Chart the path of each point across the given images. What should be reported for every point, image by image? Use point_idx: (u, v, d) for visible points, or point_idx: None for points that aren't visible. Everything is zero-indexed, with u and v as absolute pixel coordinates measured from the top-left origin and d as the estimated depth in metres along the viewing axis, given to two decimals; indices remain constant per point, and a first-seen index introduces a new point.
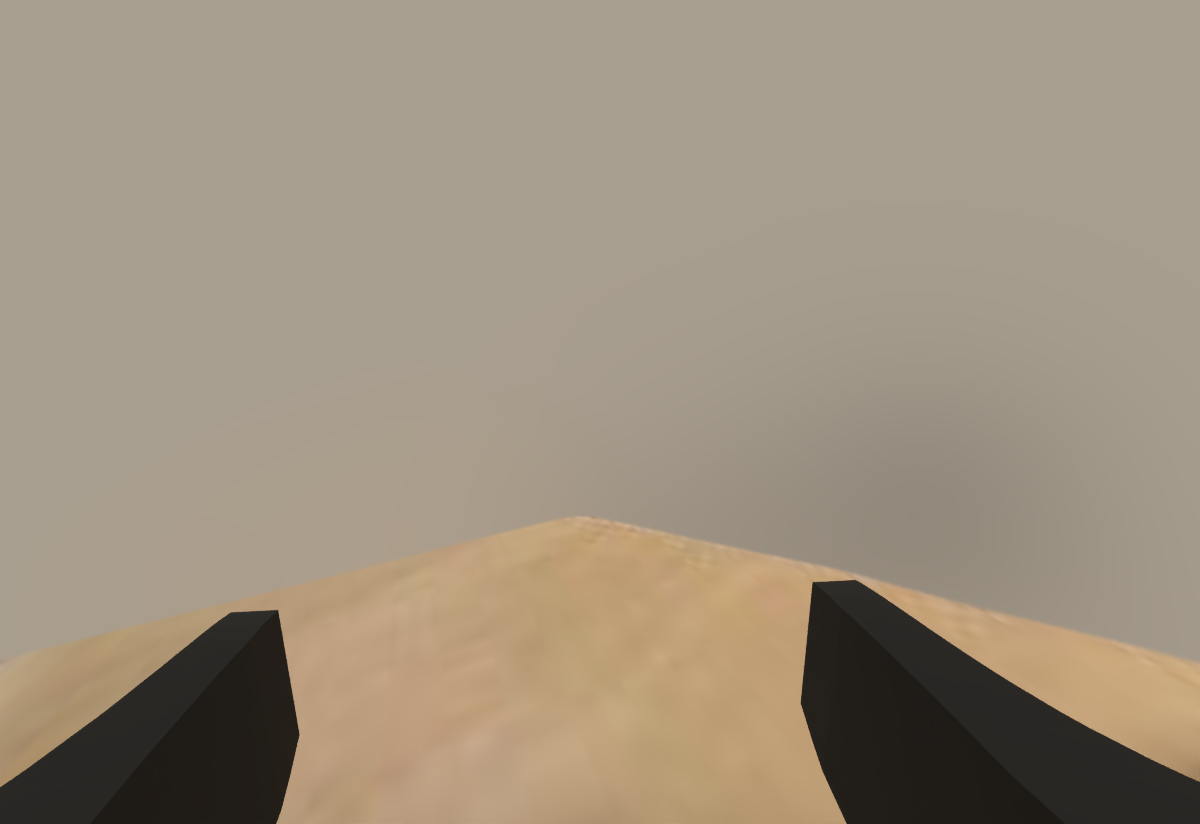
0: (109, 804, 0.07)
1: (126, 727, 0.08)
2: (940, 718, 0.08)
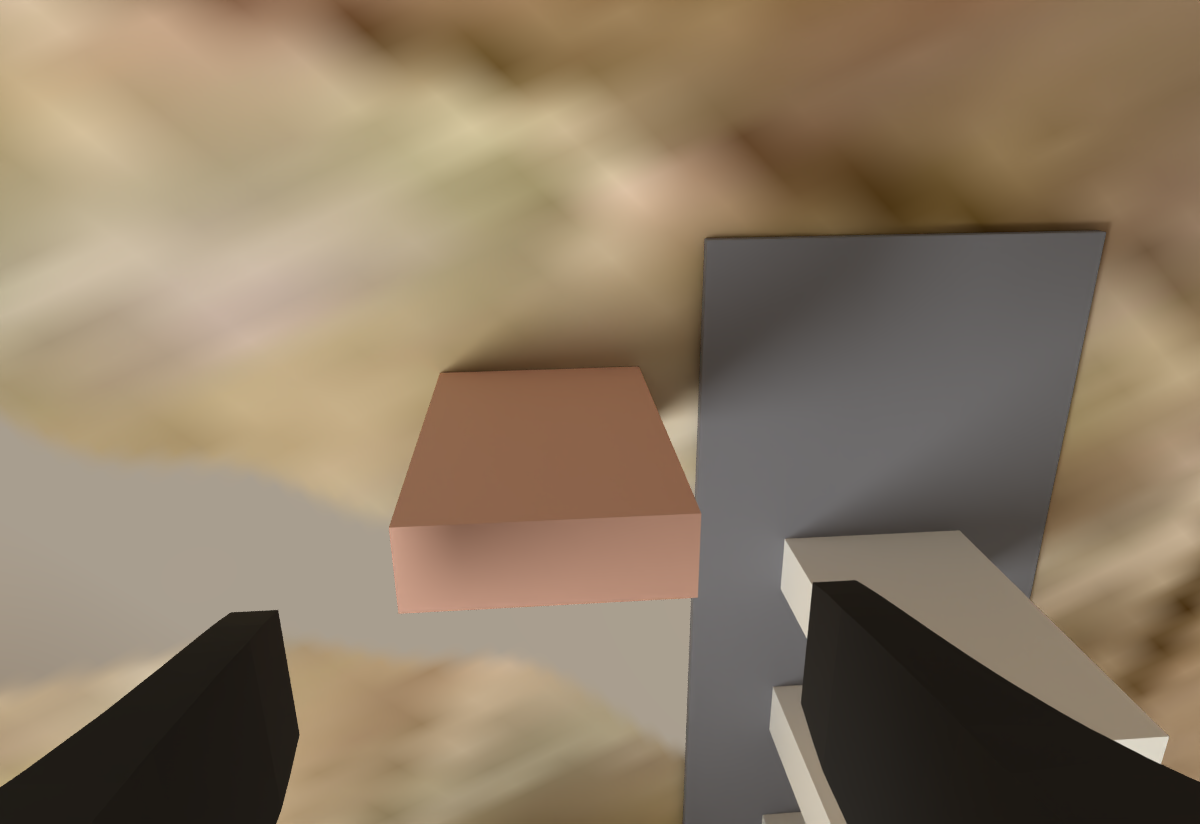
0: (108, 805, 0.07)
1: (126, 727, 0.08)
2: (940, 718, 0.08)
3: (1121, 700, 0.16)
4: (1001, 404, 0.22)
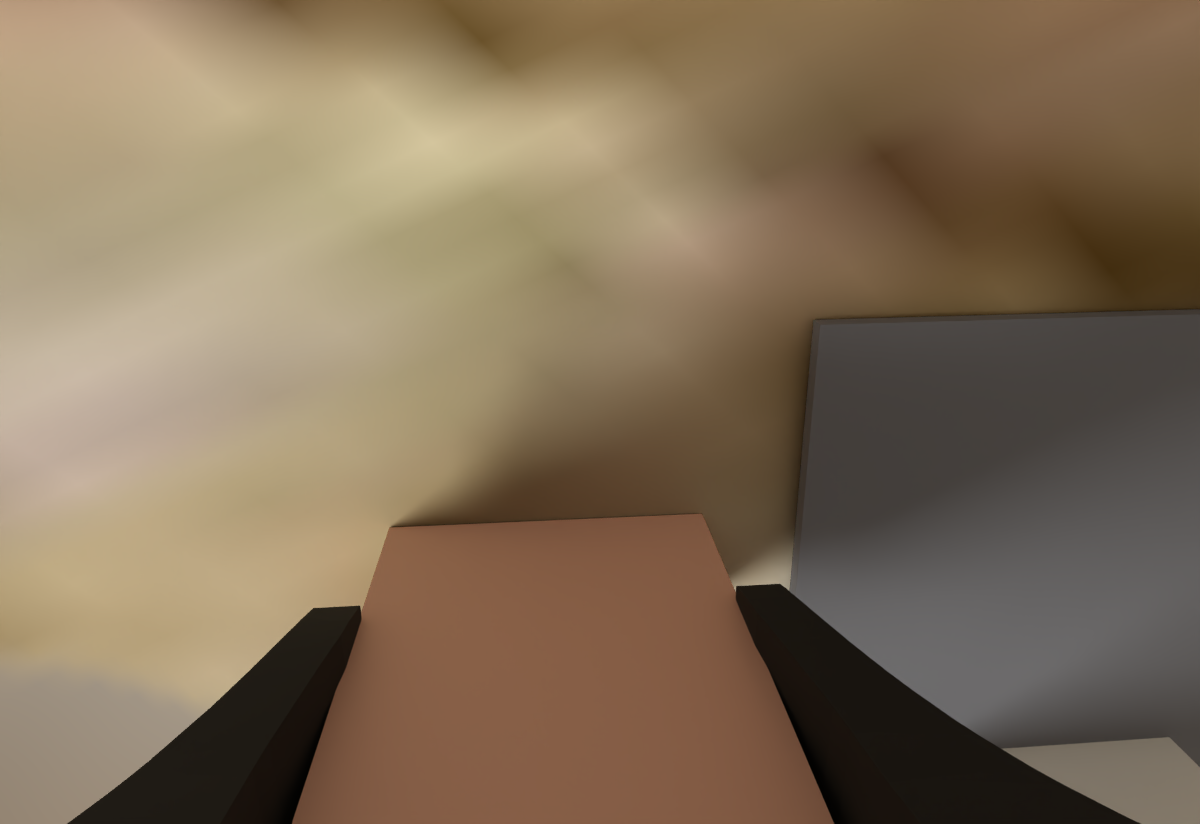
0: (238, 797, 0.07)
1: (238, 720, 0.08)
2: (835, 726, 0.08)
3: None
4: None
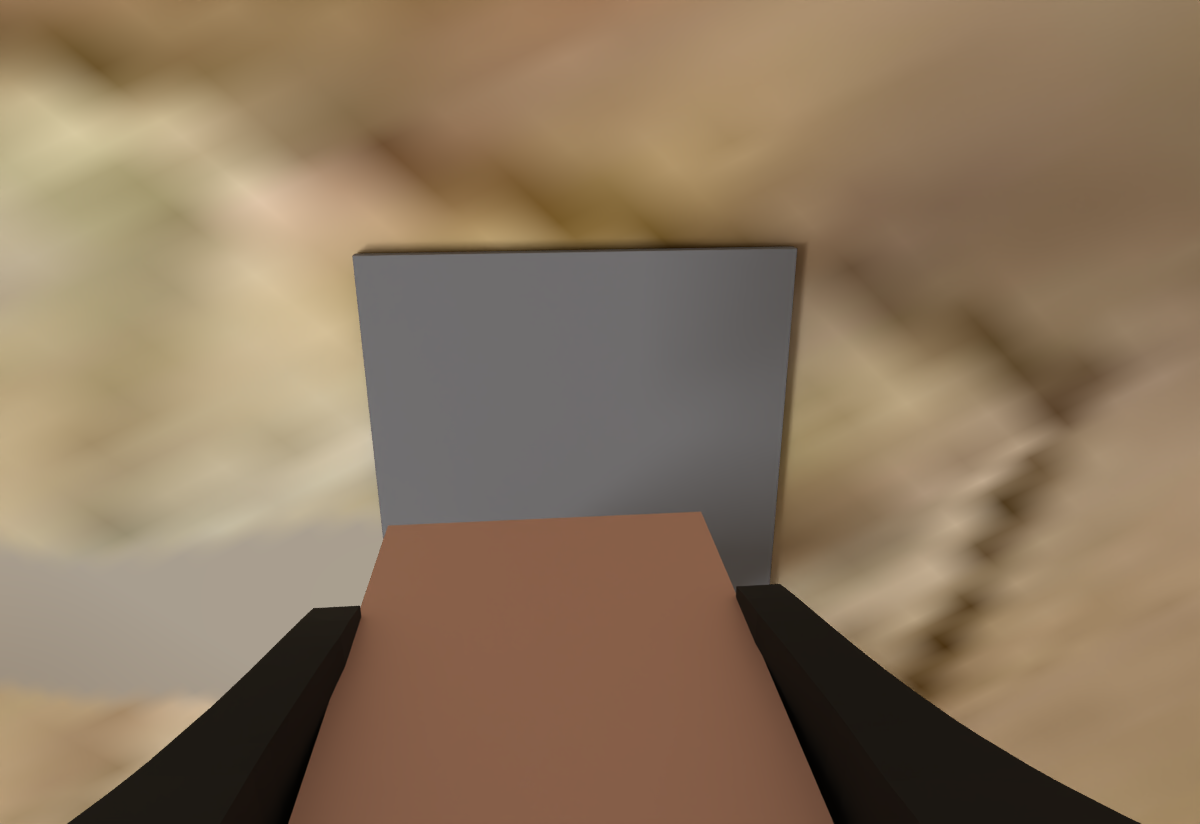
0: (237, 797, 0.07)
1: (237, 720, 0.08)
2: (836, 725, 0.08)
3: None
4: (705, 431, 0.20)
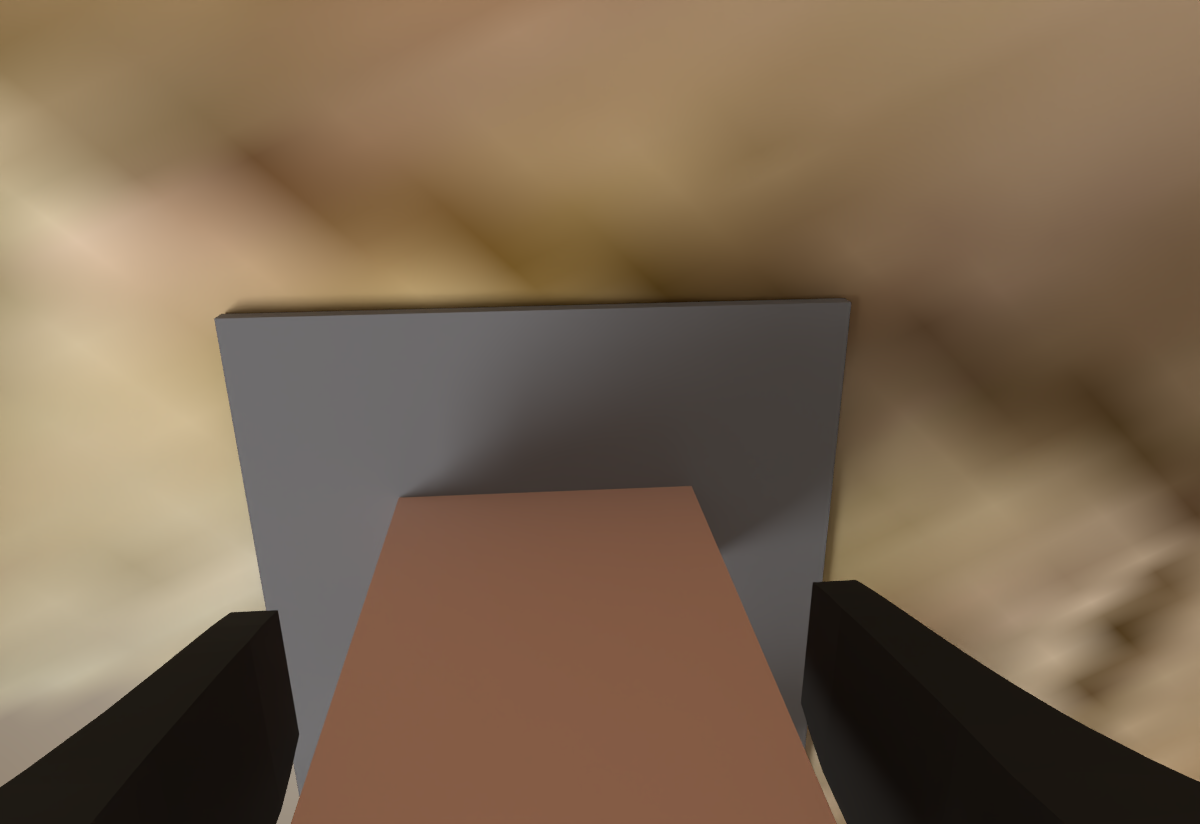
0: (108, 805, 0.07)
1: (126, 727, 0.08)
2: (940, 719, 0.08)
3: None
4: (721, 549, 0.15)
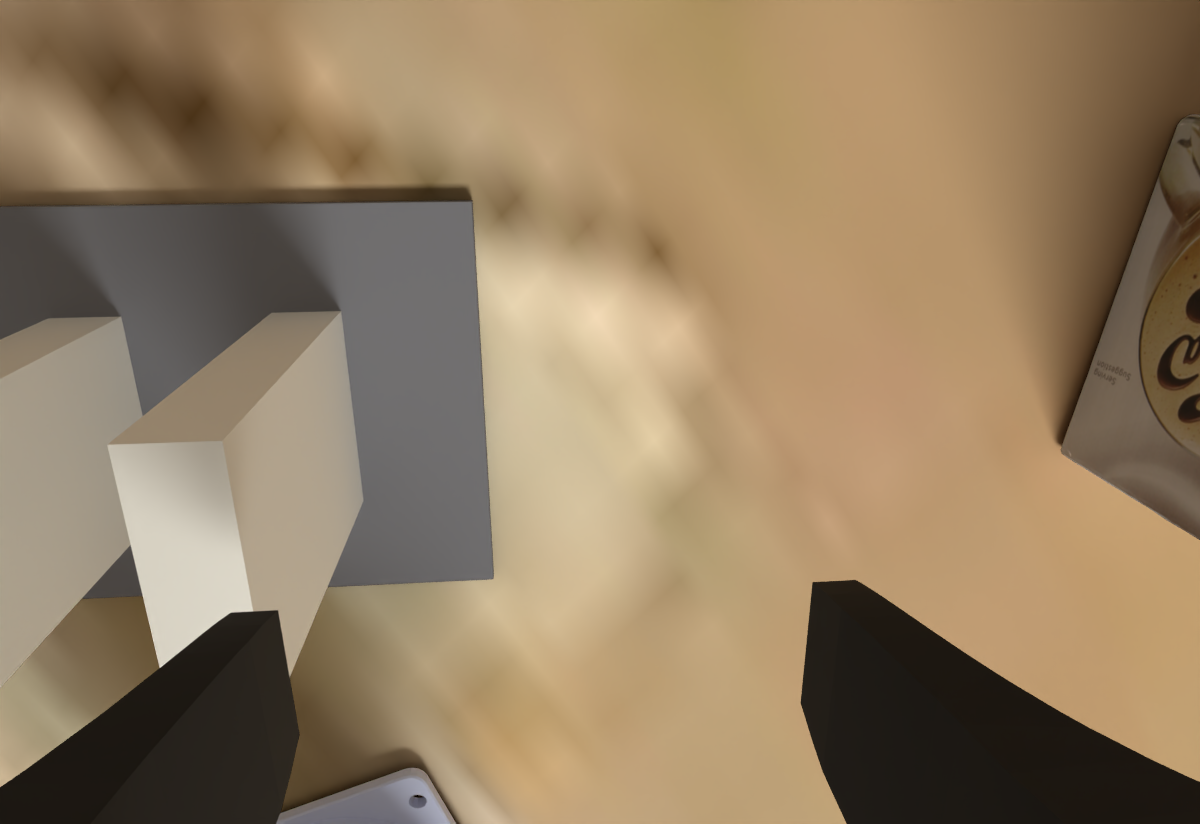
0: (108, 805, 0.07)
1: (126, 727, 0.08)
2: (941, 718, 0.08)
3: None
4: None
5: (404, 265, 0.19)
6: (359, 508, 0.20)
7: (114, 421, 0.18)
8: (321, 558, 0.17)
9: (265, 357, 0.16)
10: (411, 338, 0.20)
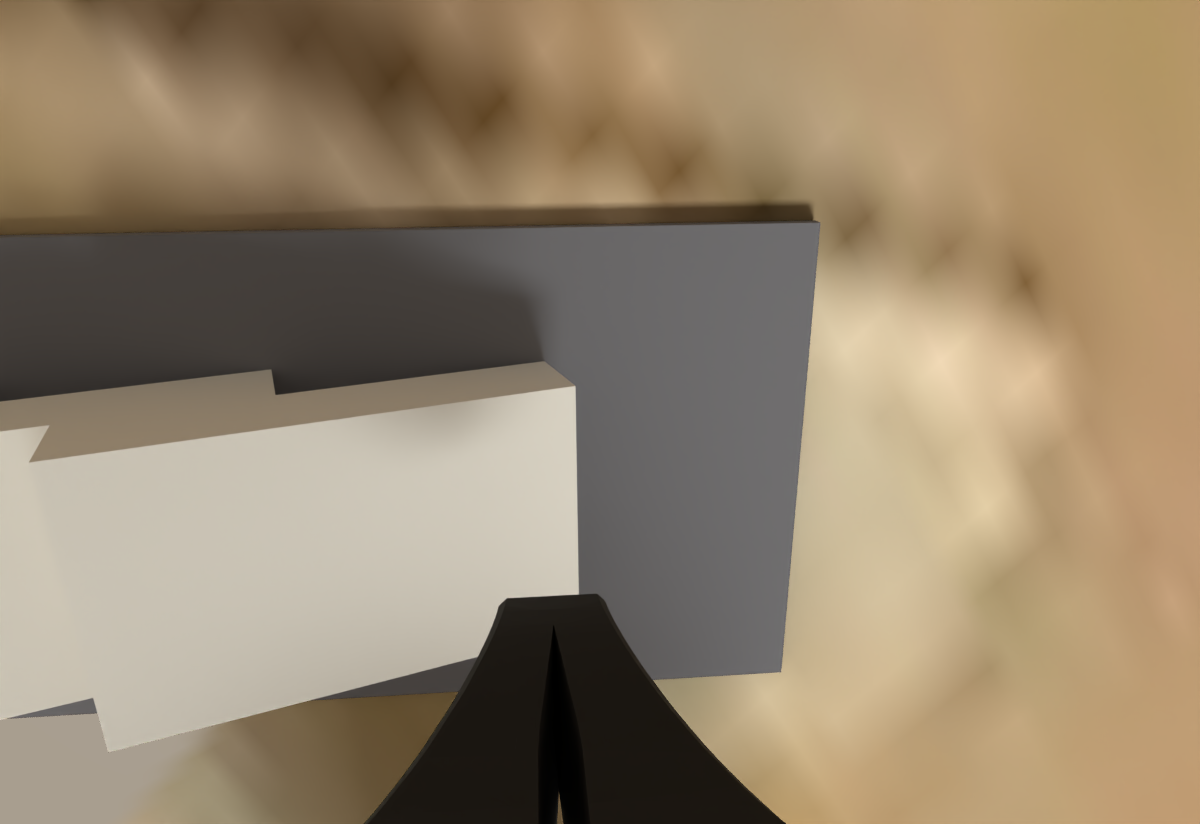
0: (537, 776, 0.07)
1: (497, 704, 0.08)
2: (579, 742, 0.08)
3: None
4: None
5: (728, 301, 0.15)
6: None
7: None
8: (353, 651, 0.14)
9: (345, 404, 0.13)
10: (724, 390, 0.16)
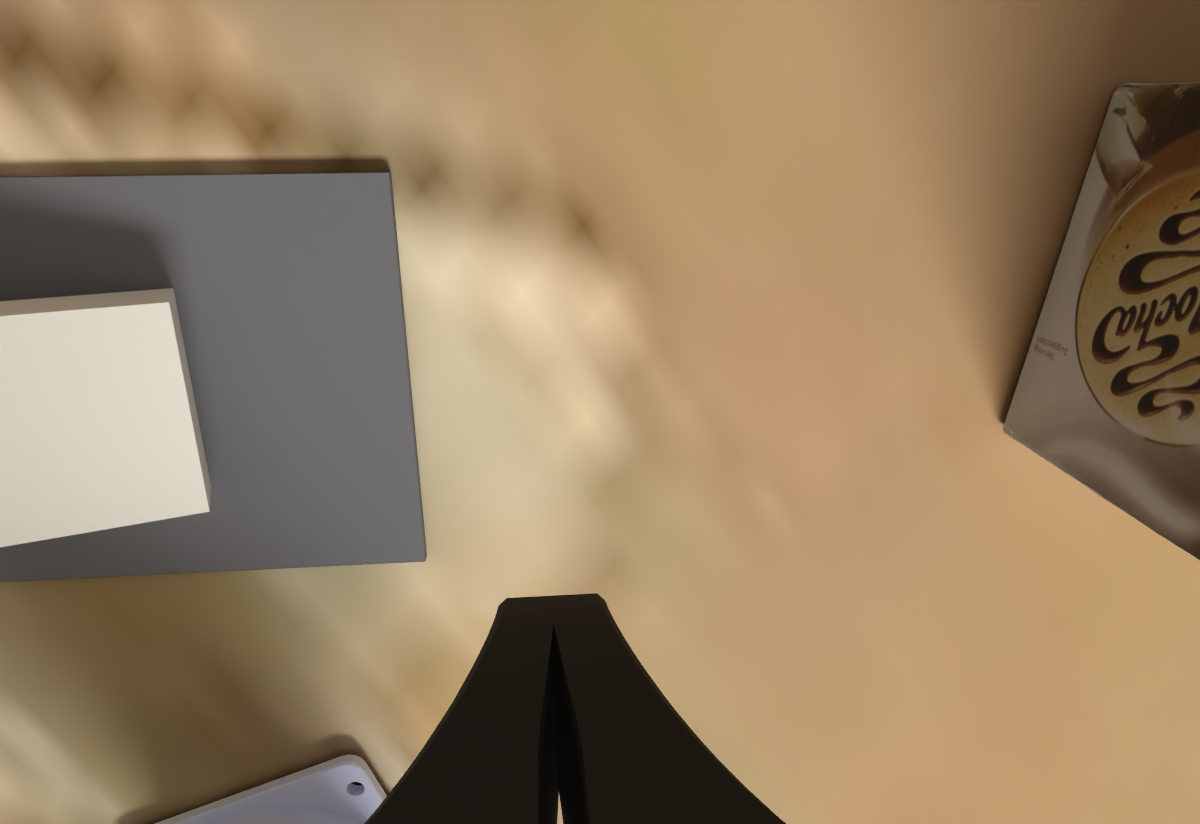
0: (538, 776, 0.07)
1: (497, 704, 0.08)
2: (578, 742, 0.08)
3: None
4: None
5: (322, 238, 0.19)
6: (185, 514, 0.19)
7: None
8: None
9: None
10: (332, 313, 0.19)
